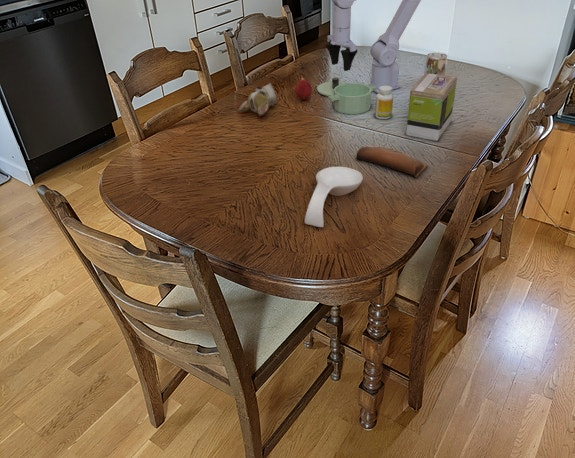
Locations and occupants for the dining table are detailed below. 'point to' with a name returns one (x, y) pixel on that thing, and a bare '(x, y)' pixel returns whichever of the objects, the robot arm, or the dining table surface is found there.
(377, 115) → the supplement bottle
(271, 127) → the dining table surface
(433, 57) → the beer glass
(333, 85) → the lid
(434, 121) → the tea box
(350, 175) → the spoon rest
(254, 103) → the ceramic sculpture
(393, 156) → the sunglasses case
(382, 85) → the robot arm
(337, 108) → the pot
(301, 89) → the onion
